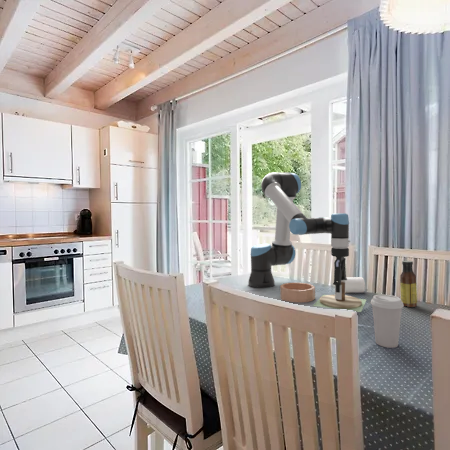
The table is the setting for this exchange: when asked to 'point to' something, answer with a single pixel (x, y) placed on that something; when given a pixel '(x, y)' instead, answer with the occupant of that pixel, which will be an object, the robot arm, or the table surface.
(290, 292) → the bowl
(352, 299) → the lid
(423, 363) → the table surface
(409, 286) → the sauce bottle
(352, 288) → the mug
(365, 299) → the mat
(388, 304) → the coffee cup
